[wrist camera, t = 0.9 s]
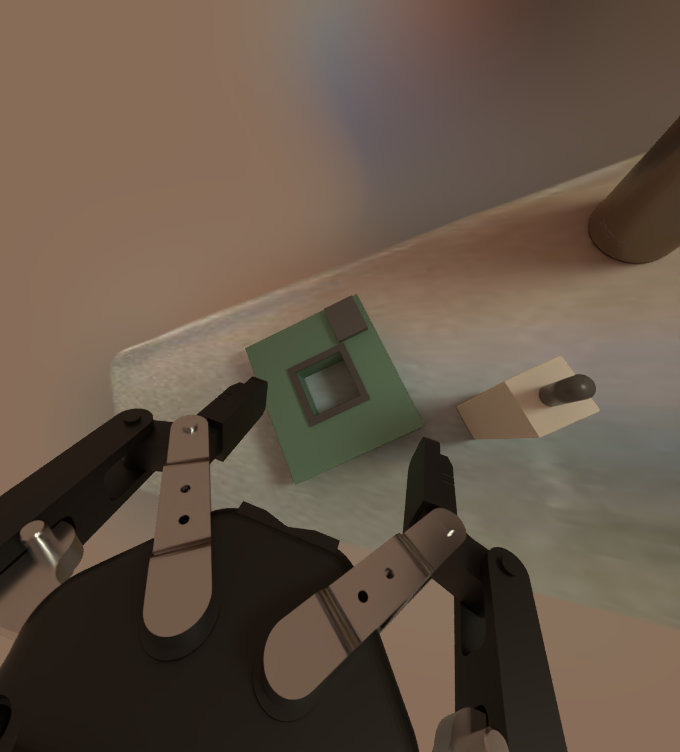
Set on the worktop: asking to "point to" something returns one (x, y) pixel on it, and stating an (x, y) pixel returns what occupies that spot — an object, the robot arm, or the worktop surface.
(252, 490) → the worktop surface
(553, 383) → the plug
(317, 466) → the green square socket base
